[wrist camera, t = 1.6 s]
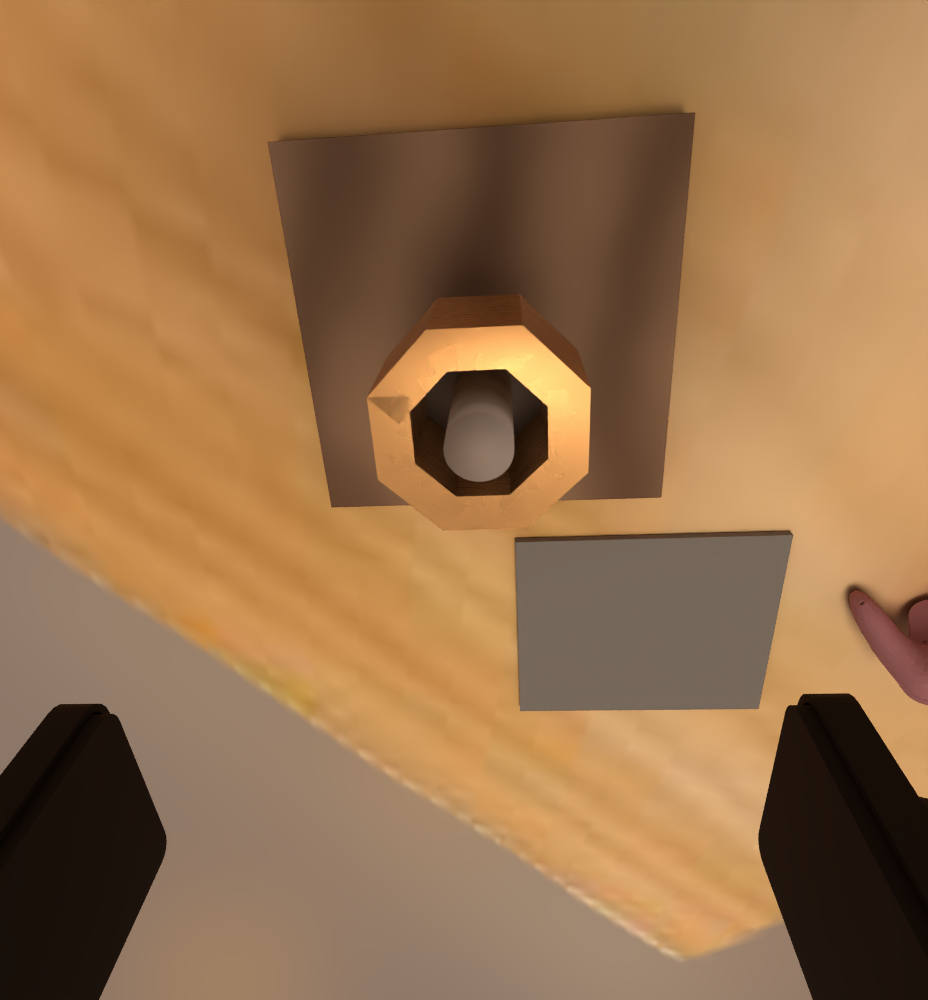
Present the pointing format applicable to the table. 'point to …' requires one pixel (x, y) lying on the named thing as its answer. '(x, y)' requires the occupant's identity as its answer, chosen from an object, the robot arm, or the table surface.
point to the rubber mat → (647, 619)
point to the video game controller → (897, 643)
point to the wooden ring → (420, 440)
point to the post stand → (492, 280)
